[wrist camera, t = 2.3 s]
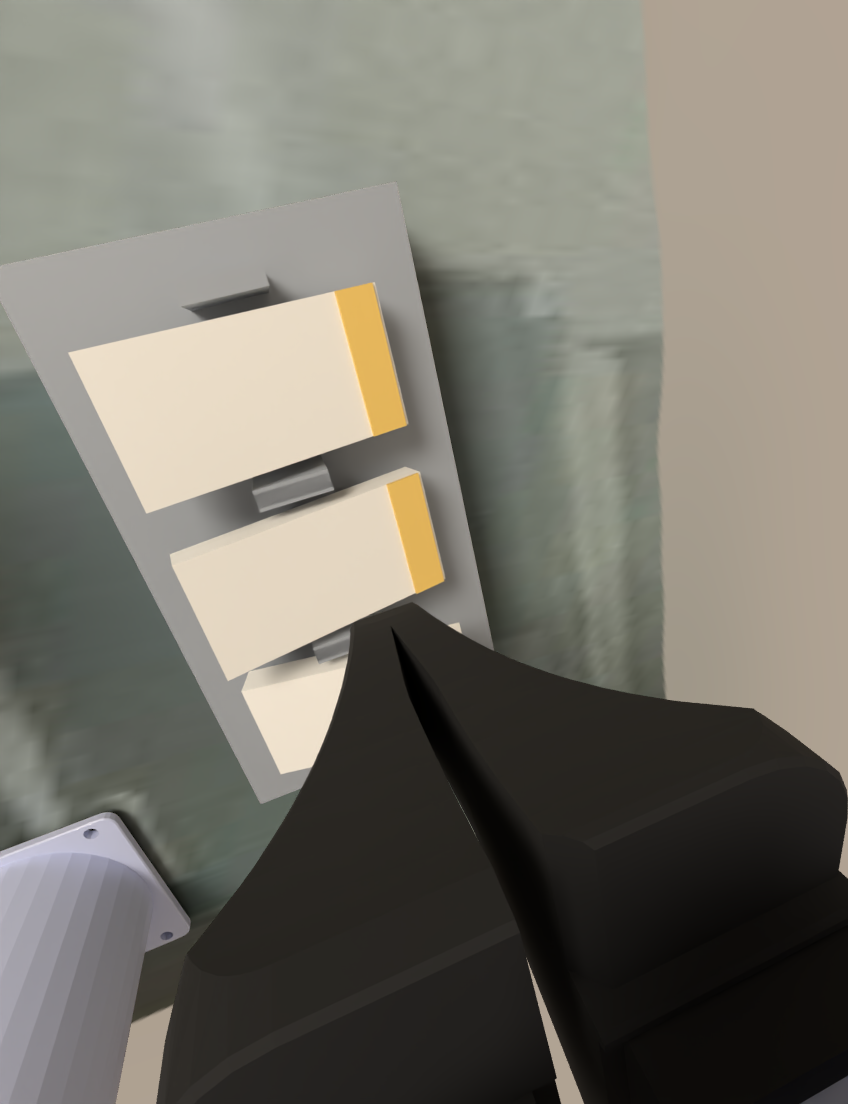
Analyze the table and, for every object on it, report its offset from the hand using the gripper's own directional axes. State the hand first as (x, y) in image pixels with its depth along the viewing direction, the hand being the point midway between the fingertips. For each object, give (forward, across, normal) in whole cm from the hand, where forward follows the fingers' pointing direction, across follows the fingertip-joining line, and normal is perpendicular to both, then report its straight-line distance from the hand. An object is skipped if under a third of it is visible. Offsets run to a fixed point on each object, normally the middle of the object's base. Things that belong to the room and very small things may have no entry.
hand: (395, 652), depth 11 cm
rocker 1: (+5, +1, -5) cm, 7 cm away
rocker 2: (+5, +1, 0) cm, 5 cm away
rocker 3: (+5, +1, +5) cm, 7 cm away
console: (+10, +1, 0) cm, 10 cm away
